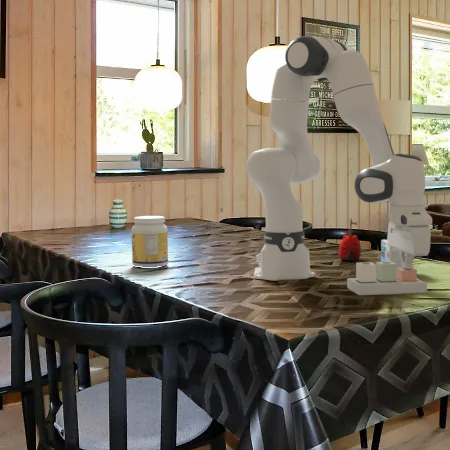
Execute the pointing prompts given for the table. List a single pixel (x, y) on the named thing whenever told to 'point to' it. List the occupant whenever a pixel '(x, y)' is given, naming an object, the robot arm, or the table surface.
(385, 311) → the table surface
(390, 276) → the key
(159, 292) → the table surface
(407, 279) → the key
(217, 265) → the table surface
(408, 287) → the grey piece
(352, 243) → the red clay folk toy
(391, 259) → the light bulb box
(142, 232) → the supplement tub
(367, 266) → the key
